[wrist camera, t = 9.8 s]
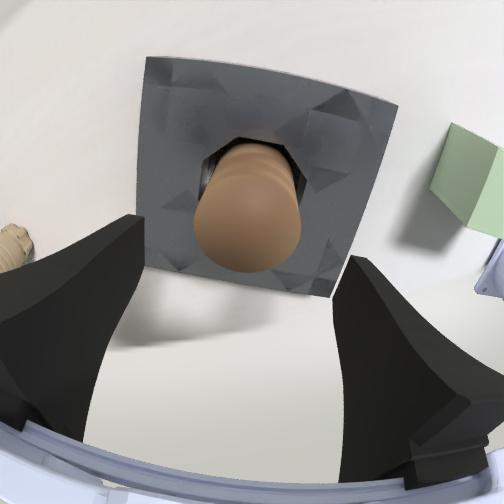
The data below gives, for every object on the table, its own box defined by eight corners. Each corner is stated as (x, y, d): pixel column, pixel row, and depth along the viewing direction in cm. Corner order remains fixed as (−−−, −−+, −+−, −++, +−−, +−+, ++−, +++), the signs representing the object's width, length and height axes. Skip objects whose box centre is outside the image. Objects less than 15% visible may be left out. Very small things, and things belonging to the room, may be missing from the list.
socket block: (383, 98, 15) (398, 105, 13) (324, 274, 22) (329, 298, 20) (162, 56, 14) (146, 56, 12) (148, 243, 21) (137, 263, 19)
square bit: (500, 146, 15) (546, 175, 11) (477, 204, 18) (516, 244, 14) (451, 122, 15) (498, 146, 11) (428, 187, 18) (465, 227, 14)
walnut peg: (300, 146, 17) (317, 197, 11) (277, 208, 19) (280, 282, 13) (229, 125, 17) (206, 165, 11) (212, 190, 19) (185, 258, 13)
